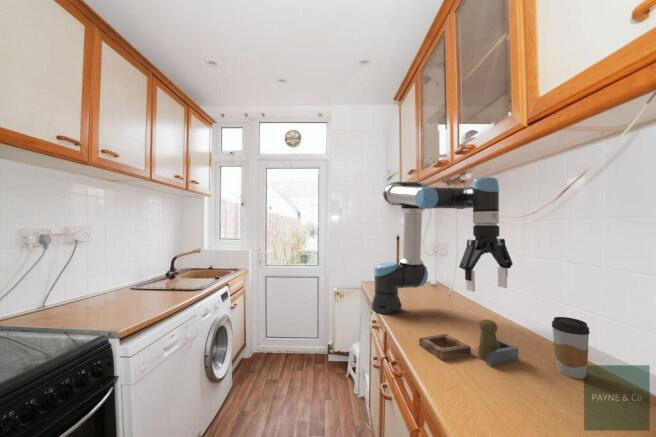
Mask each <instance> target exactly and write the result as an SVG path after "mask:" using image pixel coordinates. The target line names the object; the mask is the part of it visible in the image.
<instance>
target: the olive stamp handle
mask: <svg viewBox="0 0 656 437" xmlns="http://www.w3.org/2000/svg"><path fill="white" fill-rule="evenodd" d="M478 327H479V329H480V335H479V343H478V344H479V345H478V348H479V350H478V353H479V354H480V355H481V356H483V357H486V351H491V350H496V349H498V345H497V339H498V338H497V334H496V333H497V330H498V325H497V323H496V322H495V321H493V320H491V319H481V320H480V321H479V322H478ZM496 338H497V339H496Z"/></svg>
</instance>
